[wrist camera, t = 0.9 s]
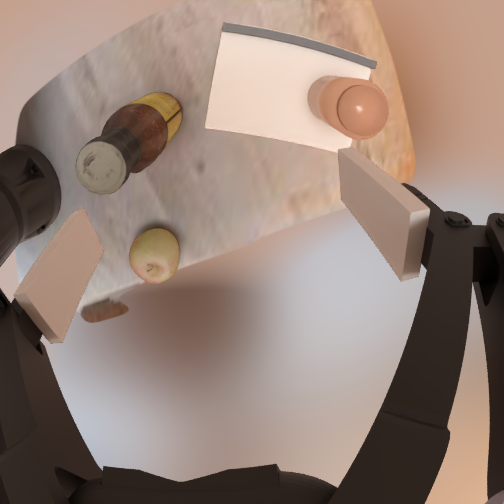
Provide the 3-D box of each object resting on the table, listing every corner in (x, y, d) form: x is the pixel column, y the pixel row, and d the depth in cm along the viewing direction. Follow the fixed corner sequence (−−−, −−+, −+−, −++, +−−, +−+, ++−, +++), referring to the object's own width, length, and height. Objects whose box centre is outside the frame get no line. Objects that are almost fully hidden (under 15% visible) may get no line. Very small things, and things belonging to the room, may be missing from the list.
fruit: (132, 221, 42) (116, 252, 35) (180, 220, 42) (171, 251, 36) (141, 263, 46) (128, 296, 40) (185, 262, 47) (178, 297, 40)
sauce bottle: (131, 99, 32) (46, 135, 16) (178, 85, 32) (122, 102, 15) (145, 145, 36) (77, 215, 19) (190, 133, 35) (151, 194, 19)
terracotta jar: (302, 116, 33) (326, 133, 24) (313, 69, 29) (342, 70, 21) (347, 128, 33) (383, 149, 25) (359, 84, 30) (400, 92, 22)
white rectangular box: (206, 124, 35) (203, 129, 32) (224, 26, 28) (223, 21, 25) (341, 150, 38) (350, 158, 34) (365, 61, 30) (377, 61, 27)
